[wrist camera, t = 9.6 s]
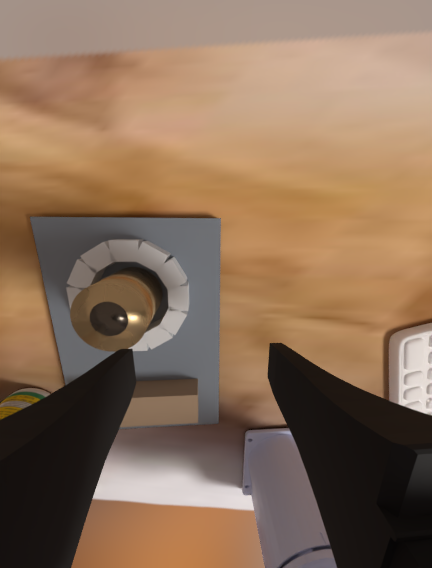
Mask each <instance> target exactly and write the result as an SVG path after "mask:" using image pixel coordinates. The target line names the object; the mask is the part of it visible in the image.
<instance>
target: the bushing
mask: <svg viewBox="0 0 432 568" xmlns="http://www.w3.org/2000/svg"><path fill="white" fill-rule="evenodd" d="M161 301H162V288H161V285H160V283H159V281H158V279H157V278H156V277H155V276H154V275H153V274H152V273H150V272H149V271H147V270H145V269H142V268H138V267H127V268H124V269H121V270H119V271H117V272H115V273H114V274H112V275H110V276H108V277H106V278H104V279H102V280H100V281H98V282H96V283H94V284H93V285H91V286H89V287H87V288H85V289H83V290H82V291H81V292H80V293H79V294H78V295H77V296H76V297H75V299H74V300H73V302H72V305H71V310H70V318H71V323H72V326H73V328H74V330H75V332H76V333H77V335H78V336H79V337H80V338H81V339H82V340H83V341H84V342H86V343H87V344H88V345H90V346H92V347H94V348H96V349H99V350H103V351H109V352H115V351H118V350H119V349H128V348H130V347H132V346H134V345H135V344H136V343H137V342H139V340H140V339H141V338H142V337H143V335H144V333H145V331H146V330H147V328H148V326H149V324H150V322H151V320H152V319H153V317H154V315H155V313H156V311H157V309H158V308H159V306H160V304H161Z"/></svg>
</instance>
